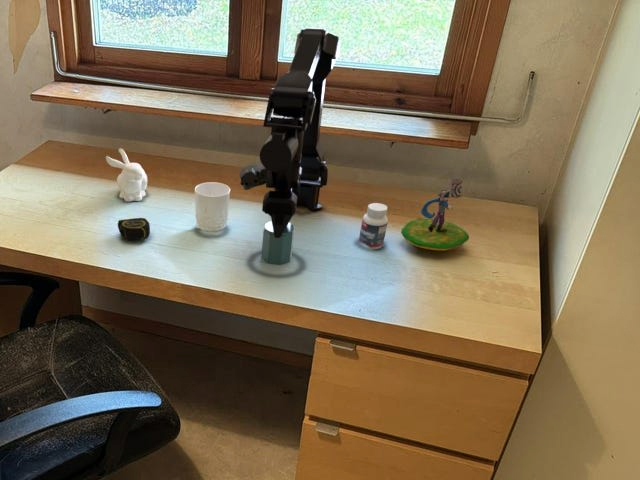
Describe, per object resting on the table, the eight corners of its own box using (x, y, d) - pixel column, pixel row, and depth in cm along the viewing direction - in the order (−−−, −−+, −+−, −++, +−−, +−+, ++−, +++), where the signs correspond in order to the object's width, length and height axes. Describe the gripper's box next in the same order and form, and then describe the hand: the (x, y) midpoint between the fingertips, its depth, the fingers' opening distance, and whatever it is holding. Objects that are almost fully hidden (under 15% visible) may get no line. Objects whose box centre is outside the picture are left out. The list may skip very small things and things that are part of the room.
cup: (279, 247, 147) (282, 217, 143) (296, 259, 143) (300, 229, 139) (256, 254, 145) (258, 224, 141) (272, 266, 141) (275, 235, 137)
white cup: (226, 239, 154) (228, 197, 148) (191, 236, 155) (191, 195, 149) (230, 224, 160) (232, 183, 154) (197, 221, 162) (197, 180, 155)
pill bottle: (353, 243, 151) (359, 205, 146) (368, 236, 154) (375, 199, 148) (372, 252, 148) (379, 214, 143) (388, 245, 150) (395, 207, 145)
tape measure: (147, 229, 159) (146, 214, 156) (152, 243, 153) (152, 227, 151) (118, 232, 158) (117, 217, 156) (122, 246, 152) (121, 230, 150)
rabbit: (144, 205, 169) (142, 157, 162) (106, 204, 170) (103, 157, 163) (150, 185, 179) (149, 140, 172) (114, 184, 180) (111, 139, 173)
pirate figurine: (398, 256, 146) (412, 189, 137) (398, 229, 156) (411, 166, 147) (467, 263, 143) (486, 195, 134) (463, 236, 153) (480, 171, 144)
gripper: (249, 133, 139) (245, 205, 149) (237, 168, 125) (233, 245, 134) (305, 136, 137) (297, 209, 147) (299, 172, 123) (291, 250, 132)
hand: (279, 227), depth 140 cm, fingers open, 9 cm apart
